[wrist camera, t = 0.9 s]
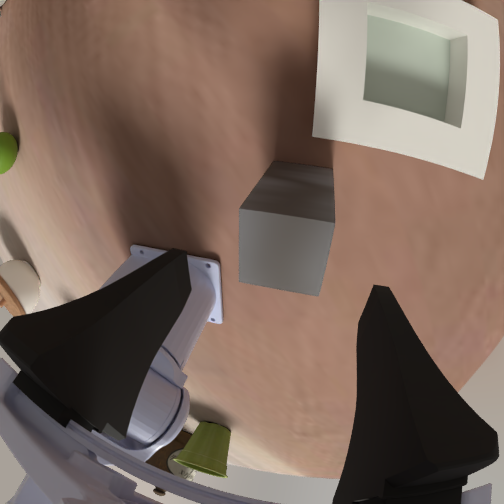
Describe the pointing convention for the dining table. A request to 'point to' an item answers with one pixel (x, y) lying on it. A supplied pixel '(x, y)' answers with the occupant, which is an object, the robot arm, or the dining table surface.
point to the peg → (287, 228)
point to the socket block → (409, 79)
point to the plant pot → (207, 450)
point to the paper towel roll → (0, 1)
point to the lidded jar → (19, 287)
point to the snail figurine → (7, 151)
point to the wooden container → (166, 462)
